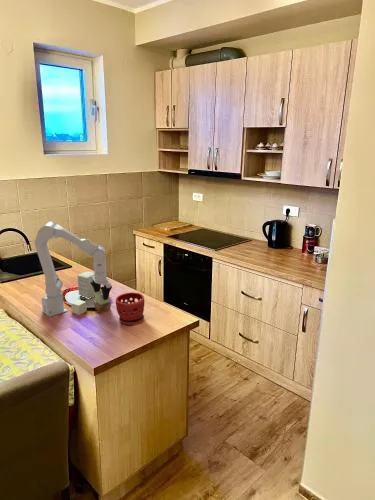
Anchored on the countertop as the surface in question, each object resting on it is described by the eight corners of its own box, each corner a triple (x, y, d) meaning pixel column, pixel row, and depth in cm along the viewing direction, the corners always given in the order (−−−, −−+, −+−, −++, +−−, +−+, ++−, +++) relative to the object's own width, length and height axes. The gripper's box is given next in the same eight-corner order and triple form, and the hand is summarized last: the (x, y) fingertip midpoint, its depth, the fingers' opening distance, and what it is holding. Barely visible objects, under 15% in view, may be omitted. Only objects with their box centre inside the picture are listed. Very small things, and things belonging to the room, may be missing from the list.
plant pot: (131, 312, 179) (131, 289, 176) (150, 320, 171) (150, 296, 168) (110, 321, 169) (109, 297, 166) (129, 330, 161) (128, 306, 158)
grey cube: (79, 315, 175) (78, 305, 174) (71, 312, 178) (71, 303, 176) (86, 311, 179) (86, 301, 178) (79, 308, 182) (78, 299, 180)
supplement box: (88, 292, 202) (87, 270, 198) (98, 295, 198) (97, 273, 195) (78, 296, 196) (76, 274, 192) (88, 299, 192) (86, 277, 188)
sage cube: (109, 302, 181) (109, 292, 179) (100, 304, 178) (100, 295, 176) (104, 298, 184) (103, 289, 183) (95, 301, 181) (94, 292, 180)
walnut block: (99, 313, 178) (98, 305, 177) (94, 308, 182) (93, 301, 181) (110, 309, 181) (110, 302, 180) (105, 305, 186) (104, 298, 185)
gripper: (115, 273, 174) (116, 299, 178) (99, 265, 184) (101, 290, 188) (102, 276, 169) (104, 303, 173) (87, 269, 179) (88, 294, 183)
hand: (101, 297), depth 180 cm, fingers open, 7 cm apart
